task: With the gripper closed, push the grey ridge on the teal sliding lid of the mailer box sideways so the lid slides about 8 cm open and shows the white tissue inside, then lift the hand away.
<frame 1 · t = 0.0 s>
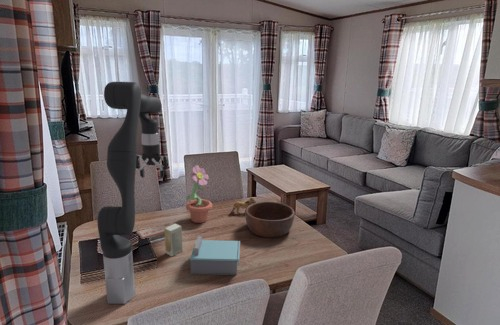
hand: (152, 177, 155), 29 cm above the table, tool pointing down, fingers open, 8 cm apart
wooden bowl: (269, 229, 172), on the table
skincare box: (174, 252, 148), on the table
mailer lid: (216, 248, 137), point 7 cm above the table, slide at 0.0 cm
packaged product: (154, 238, 161), on the table
lion figurine: (244, 212, 192), on the table
mailer box: (215, 264, 139), on the table
decorative flower: (198, 220, 180), on the table
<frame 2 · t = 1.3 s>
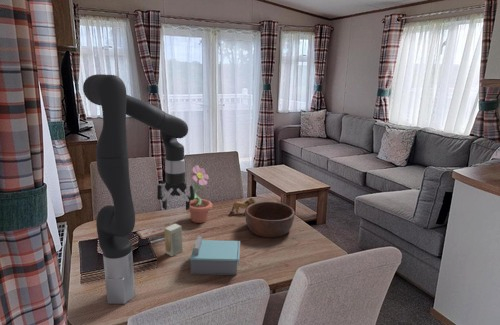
hand: (176, 209, 135), 23 cm above the table, tool pointing down, fingers open, 8 cm apart
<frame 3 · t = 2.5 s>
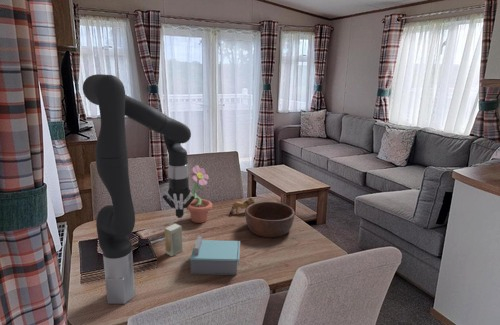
hand: (179, 217, 134), 21 cm above the table, tool pointing down, fingers closed
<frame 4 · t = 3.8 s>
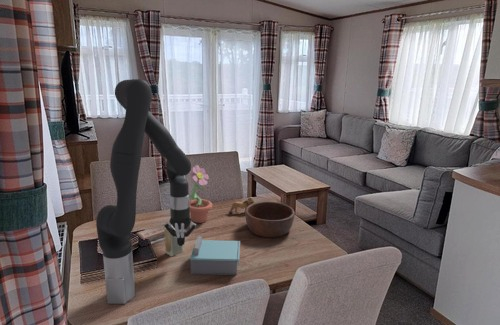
hand: (181, 245, 137), 9 cm above the table, tool pointing down, fingers closed
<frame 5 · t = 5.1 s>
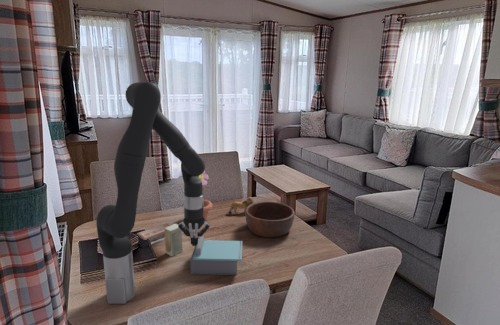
hand: (194, 244, 137), 9 cm above the table, tool pointing down, fingers closed
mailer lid: (218, 248, 137), point 7 cm above the table, slide at 0.9 cm, touching gripper
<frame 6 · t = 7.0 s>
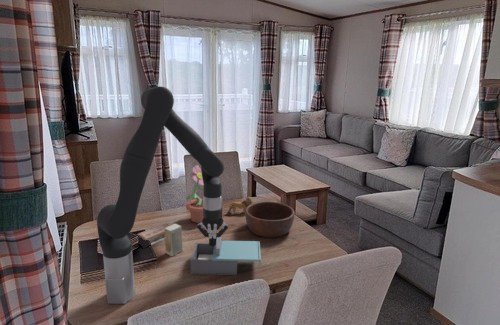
hand: (212, 245, 137), 9 cm above the table, tool pointing down, fingers closed
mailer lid: (237, 248, 137), point 7 cm above the table, slide at 8.4 cm, touching gripper
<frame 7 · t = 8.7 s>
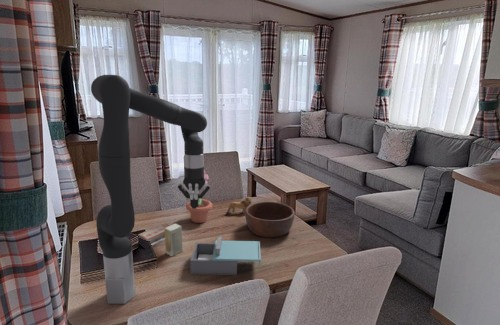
hand: (194, 207, 132), 25 cm above the table, tool pointing down, fingers closed
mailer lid: (237, 248, 137), point 7 cm above the table, slide at 8.4 cm
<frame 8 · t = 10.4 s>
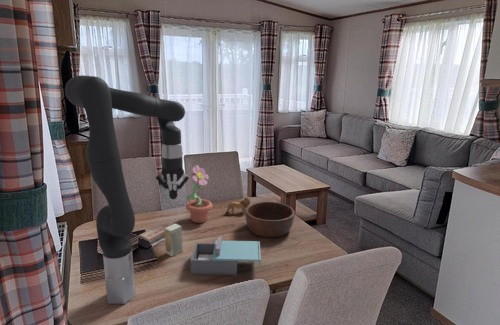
hand: (173, 198, 131), 29 cm above the table, tool pointing down, fingers closed
at the end: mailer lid slide at 8.4 cm; skincare box moved 0.2 cm from its start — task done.
